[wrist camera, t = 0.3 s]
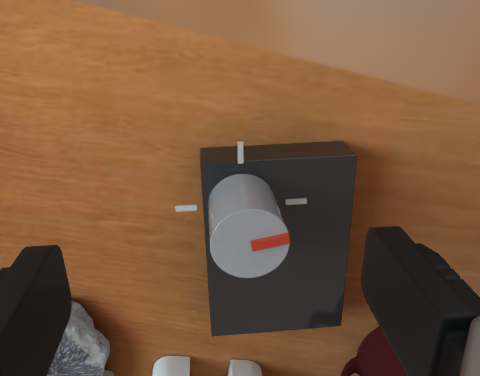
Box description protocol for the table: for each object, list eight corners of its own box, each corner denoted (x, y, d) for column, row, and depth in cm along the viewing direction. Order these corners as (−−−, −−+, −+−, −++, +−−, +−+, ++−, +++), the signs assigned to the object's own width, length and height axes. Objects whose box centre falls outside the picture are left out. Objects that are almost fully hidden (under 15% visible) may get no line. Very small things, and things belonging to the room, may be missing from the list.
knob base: (172, 130, 28) (169, 145, 26) (344, 122, 29) (360, 136, 26) (188, 312, 35) (187, 340, 32) (330, 300, 36) (341, 327, 33)
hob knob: (215, 240, 29) (219, 289, 24) (200, 181, 27) (201, 221, 22) (279, 226, 29) (296, 271, 24) (268, 166, 27) (284, 203, 22)
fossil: (130, 416, 35) (0, 463, 33) (128, 382, 39) (12, 422, 37) (91, 298, 31) (-59, 342, 29) (93, 273, 35) (-39, 310, 33)
